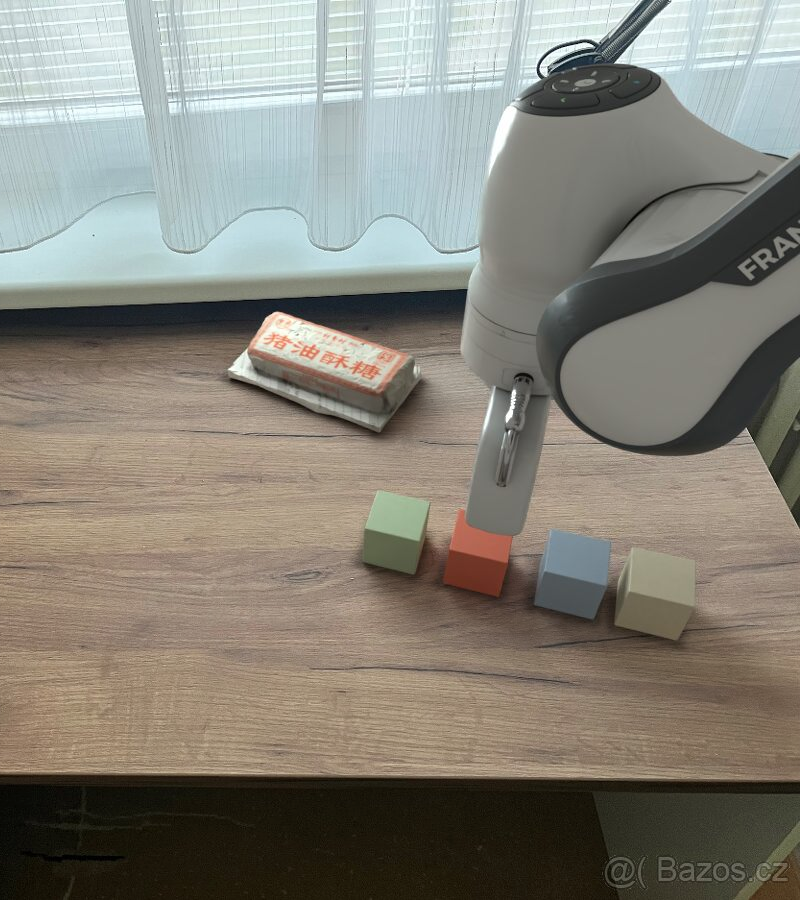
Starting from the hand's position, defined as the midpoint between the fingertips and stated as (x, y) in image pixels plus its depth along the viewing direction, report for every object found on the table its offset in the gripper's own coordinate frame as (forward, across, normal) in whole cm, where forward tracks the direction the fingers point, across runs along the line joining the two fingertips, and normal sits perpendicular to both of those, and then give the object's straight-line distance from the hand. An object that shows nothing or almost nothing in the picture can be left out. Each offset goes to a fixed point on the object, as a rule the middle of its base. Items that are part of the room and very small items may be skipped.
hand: (503, 479), depth 65 cm
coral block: (+11, 0, +1) cm, 11 cm away
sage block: (+11, 0, +8) cm, 13 cm away
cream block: (+11, 0, -12) cm, 17 cm away
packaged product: (+11, +20, +20) cm, 30 cm away
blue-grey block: (+11, 0, -6) cm, 13 cm away
